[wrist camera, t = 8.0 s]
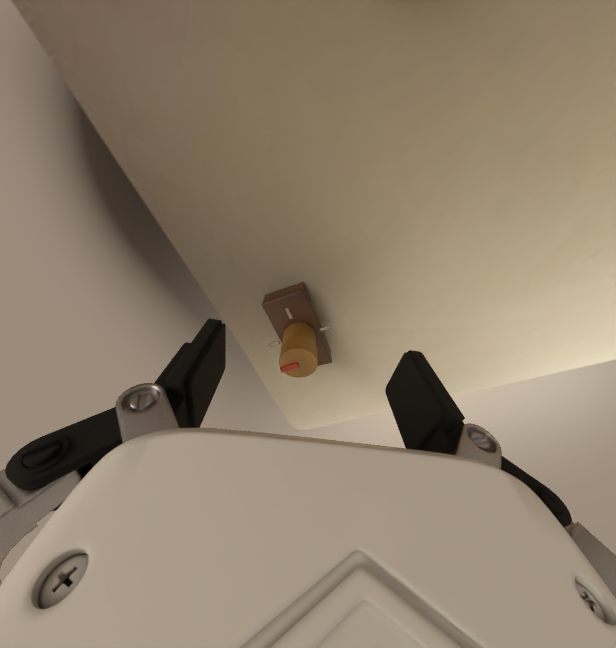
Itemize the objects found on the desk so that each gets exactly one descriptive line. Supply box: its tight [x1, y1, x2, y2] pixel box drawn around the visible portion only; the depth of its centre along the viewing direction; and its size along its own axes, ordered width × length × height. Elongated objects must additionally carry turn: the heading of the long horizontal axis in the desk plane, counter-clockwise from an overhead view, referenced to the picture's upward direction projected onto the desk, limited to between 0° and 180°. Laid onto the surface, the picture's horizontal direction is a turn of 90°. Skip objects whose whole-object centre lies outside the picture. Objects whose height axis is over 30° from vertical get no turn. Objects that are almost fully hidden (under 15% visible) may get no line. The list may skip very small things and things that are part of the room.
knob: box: [279, 322, 318, 377], centre depth 26 cm, size 4×4×5 cm
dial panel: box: [262, 282, 332, 366], centre depth 29 cm, size 11×8×3 cm
